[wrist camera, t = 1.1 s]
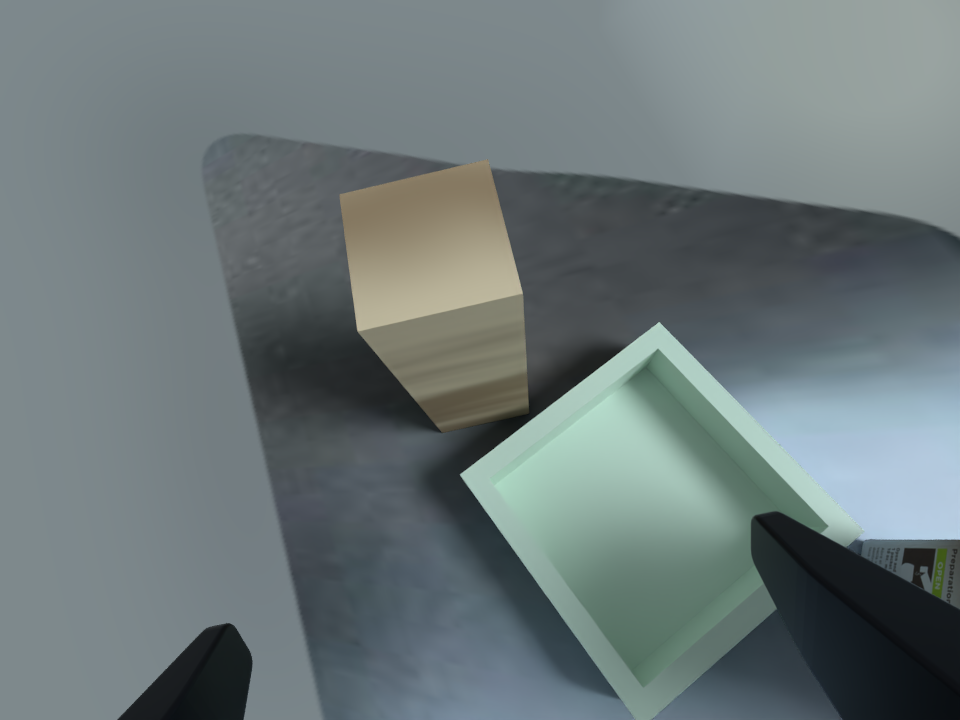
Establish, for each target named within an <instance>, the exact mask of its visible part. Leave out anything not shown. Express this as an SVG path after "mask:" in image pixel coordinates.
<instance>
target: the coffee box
mask: <svg viewBox="0 0 960 720" xmlns="http://www.w3.org/2000/svg"><path fill="white" fill-rule="evenodd" d="M861 556H863V557H865V558H867V559H868V560H870V561H872V562H874V563H876V564H878V565H879V566H881V567H883V568H885V569H887V570H889V571H891V572H892V573H894V574H896V575H898V576H900V577H902V578H904V579H905V580H907V581H909V582H911V583H913V584H915V585H916V586H918V587H920V588H922V589H924V590H926V591H928V592H929V593H931V594H933V595H935V596H937V597H939V598H941V599H942V600H944V601H946V602H948V603H950V604H952V605H953V606H955V607H957V608H959V609H960V540H875V539H869V540H865V541H864V542H863V545H862V552H861Z"/></svg>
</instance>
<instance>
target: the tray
mask: <svg viewBox="0 0 960 720" xmlns="http://www.w3.org/2000/svg"><path fill="white" fill-rule="evenodd" d="M460 476H461V477H462V479H463V480H464V481H465V483H466V484H467V485H468V487H469V488H470V490H471V491H472V492H473V494H474V495H475V497H476V498H477V499H478V501H479V502H480V504H481V505H482V506H483V508H484V509H485V511H486V512H487V513H488V515H489V516H490V518H491V519H492V520H493V522H494V523H495V525H496V526H497V527H498V529H499V530H500V532H501V533H502V534H503V536H504V537H505V538H506V540H507V541H508V543H509V544H510V545H511V547H512V548H513V550H514V551H515V552H516V554H517V555H518V557H519V558H520V559H521V561H522V562H523V564H524V565H525V566H526V568H527V569H528V571H529V572H530V573H531V575H532V576H533V578H534V579H535V580H536V582H537V583H538V585H539V586H540V587H541V589H542V590H543V591H544V593H545V594H546V596H547V597H548V598H549V600H550V601H551V603H552V604H553V605H554V607H555V608H556V610H557V611H558V612H559V614H560V615H561V617H562V618H563V619H564V621H565V622H566V624H567V625H568V626H569V628H570V629H571V631H572V632H573V633H574V635H575V636H576V638H577V639H578V640H579V642H580V643H581V644H582V646H583V647H584V649H585V650H586V651H587V653H588V654H589V656H590V657H591V658H592V660H593V661H594V663H595V664H596V665H597V667H598V668H599V670H600V671H601V672H602V674H603V675H604V677H605V678H606V679H607V681H608V682H609V684H610V685H611V686H612V688H613V689H614V691H615V692H616V693H617V695H618V696H619V697H620V699H621V700H622V702H623V703H624V704H625V706H626V707H627V709H628V710H629V711H630V713H631V714H632V716H633V717H634V718H635V720H651V719H653V718H654V717H655V716H656V715H657V714H658V713H659V712H661V711H662V710H663V709H664V708H665V707H666V706H667V705H668V704H670V703H671V702H672V701H673V700H674V699H675V698H676V697H678V696H679V695H680V694H681V693H682V692H683V691H684V690H685V689H687V688H688V687H689V686H690V685H691V684H692V683H693V682H695V681H696V680H697V679H698V678H699V677H700V676H701V675H702V674H704V673H705V672H706V671H707V670H708V669H709V668H710V667H712V666H713V665H714V664H715V663H716V662H717V661H718V660H719V659H721V658H722V657H723V656H724V655H725V654H726V653H727V652H729V651H730V650H731V649H732V648H733V647H734V646H735V645H736V644H738V643H739V642H740V641H741V640H742V639H743V638H744V637H746V636H747V635H748V634H749V633H750V632H751V631H752V630H753V629H755V628H756V627H757V626H758V625H759V624H760V623H761V622H763V621H764V620H765V619H766V618H767V617H768V616H769V615H770V614H772V613H773V612H774V611H775V610H776V609H777V608H776V606H775V604H774V602H773V600H772V598H771V596H770V594H769V592H768V590H767V588H766V586H765V585H764V583H763V581H762V579H761V577H760V575H759V573H758V571H757V569H756V567H755V565H754V562H753V559H752V556H751V519H752V517H753V516H754V515H757V514H762V513H767V512H772V511H778V512H781V513H783V514H785V515H787V516H789V517H791V518H793V519H794V520H796V521H798V522H800V523H802V524H804V525H805V526H807V527H809V528H811V529H813V530H815V531H817V532H818V533H820V534H822V535H824V536H826V537H828V538H830V539H831V540H833V541H835V542H837V543H839V544H841V545H842V546H844V547H848V546H849V545H850V544H851V543H852V542H853V541H854V540H855V539H857V538H858V537H859V536H860V535H861V534H862V533H863V532H865V531H864V530H863V529H862V528H861V527H860V526H859V525H858V524H857V523H856V522H855V521H854V520H853V519H852V518H851V517H850V516H849V515H848V514H847V513H846V512H845V511H844V510H843V509H842V508H841V507H840V506H839V505H838V504H837V503H836V502H835V501H834V500H833V499H832V498H831V497H830V496H829V495H828V494H827V493H826V492H825V491H824V490H823V489H822V488H821V487H820V486H819V485H818V484H817V482H816V481H815V480H814V479H813V478H812V477H811V476H810V475H809V474H808V473H807V472H806V471H805V470H804V469H803V468H802V467H801V466H800V465H799V464H798V463H797V462H796V461H795V460H794V459H793V458H792V457H791V456H790V455H789V454H788V453H787V452H786V451H785V450H784V449H783V448H782V447H781V446H780V445H779V444H778V443H777V442H776V441H775V440H774V439H773V438H772V437H771V436H770V435H769V434H768V433H767V432H766V431H765V429H764V428H763V427H762V426H761V425H760V424H759V423H758V422H757V421H756V420H755V419H754V418H753V417H752V416H751V415H750V414H749V413H748V412H747V411H746V410H745V409H744V408H743V407H742V406H741V405H740V404H739V403H738V402H737V401H736V400H735V399H734V398H733V397H732V396H731V395H730V394H729V393H728V392H727V391H726V390H725V389H724V388H723V387H722V386H721V385H720V384H719V383H718V382H717V381H716V380H715V379H714V378H713V376H712V375H711V374H710V373H709V372H708V371H707V370H706V369H705V368H704V367H703V366H702V365H701V364H700V363H699V362H698V361H697V360H696V359H695V358H694V357H693V356H692V355H691V354H690V353H689V352H688V351H687V350H686V349H685V348H684V347H683V346H682V345H681V344H680V343H679V342H678V341H677V340H676V339H675V338H674V337H673V336H672V335H671V334H670V333H669V332H668V331H667V330H666V329H665V328H664V327H663V326H662V325H661V323H660V322H659V323H658V324H656V325H655V326H654V327H652V328H651V329H650V330H648V331H647V332H646V333H645V334H643V335H642V336H641V337H639V338H638V339H637V340H635V341H634V342H633V343H631V344H630V345H629V346H628V347H626V348H625V349H624V350H622V351H621V352H620V353H618V354H617V355H616V356H614V357H613V358H612V359H611V360H609V361H608V362H607V363H605V364H604V365H603V366H601V367H600V368H599V369H597V370H596V371H595V372H594V373H592V374H591V375H590V376H588V377H587V378H586V379H584V380H583V381H582V382H580V383H579V384H578V385H577V386H575V387H574V388H573V389H571V390H570V391H569V392H567V393H566V394H565V395H563V396H562V397H561V398H560V399H558V400H557V401H556V402H554V403H553V404H552V405H550V406H549V407H548V408H546V409H545V410H544V411H543V412H541V413H540V414H539V415H537V416H536V417H535V418H533V419H532V420H531V421H529V422H528V423H527V424H526V425H524V426H523V427H522V428H520V429H519V430H518V431H516V432H515V433H514V434H512V435H511V436H510V437H509V438H507V439H506V440H505V441H503V442H502V443H501V444H499V445H498V446H497V447H495V448H494V449H493V450H492V451H490V452H489V453H488V454H486V455H485V456H484V457H482V458H481V459H480V460H478V461H477V462H476V463H475V464H473V465H472V466H471V467H469V468H468V469H467V470H465V471H464V472H463V473H461V474H460Z"/></svg>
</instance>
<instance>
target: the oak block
mask: <svg viewBox="0 0 960 720" xmlns="http://www.w3.org/2000/svg"><path fill="white" fill-rule="evenodd" d="M340 203H341V210H342V218H343V225H344V233H345V241H346V248H347V256H348V263H349V271H350V278H351V286H352V293H353V301H354V309H355V316H356V324H357V331H358V333H359V334H360V335H361V336H362V338H363V339H364V340H365V341H366V342H367V343H368V345H369V346H370V347H371V348H372V349H373V351H374V352H375V353H376V354H377V355H378V357H379V358H380V359H381V360H382V361H383V363H384V364H385V365H386V366H387V367H388V369H389V370H390V371H391V372H392V373H393V375H394V376H395V377H396V378H397V379H398V380H399V382H400V383H401V384H402V385H403V386H404V388H405V389H406V390H407V391H408V392H409V394H410V395H411V396H412V397H413V398H414V400H415V401H416V402H417V403H418V404H419V406H420V407H421V408H422V409H423V410H424V411H425V413H426V414H427V415H428V416H429V417H430V419H431V420H432V421H433V422H434V423H435V425H436V426H437V427H438V428H439V429H440V431H441V432H442V433H444V432H449V431H453V430H458V429H462V428H467V427H471V426H476V425H480V424H485V423H489V422H494V421H498V420H503V419H507V418H512V417H516V416H521V415H525V414H529V399H528V381H527V362H526V344H525V325H524V306H523V292H522V289H521V285H520V281H519V277H518V273H517V269H516V265H515V262H514V258H513V254H512V250H511V246H510V242H509V238H508V235H507V231H506V227H505V223H504V219H503V215H502V211H501V208H500V204H499V200H498V196H497V192H496V188H495V184H494V181H493V177H492V173H491V169H490V165H489V161H488V159H487V160H483V161H479V162H475V163H471V164H466V165H462V166H458V167H454V168H449V169H445V170H441V171H437V172H433V173H428V174H424V175H420V176H416V177H412V178H407V179H403V180H399V181H395V182H390V183H386V184H382V185H378V186H374V187H369V188H365V189H361V190H357V191H352V192H348V193H344V194H340Z"/></svg>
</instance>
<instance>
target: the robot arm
mask: <svg viewBox="0 0 960 720" xmlns="http://www.w3.org/2000/svg"><path fill="white" fill-rule="evenodd" d="M751 556H752V559H753V562H754V565H755V567H756V569H757V571H758V573H759V575H760V577H761V579H762V581H763V583H764V585H765V586H766V588H767V590H768V592H769V594H770V596H771V598H772V600H773V602H774V604H775V606H776V608H777V610H778V612H779V614H780V616H781V618H782V620H783V621H784V623H785V625H786V627H787V629H788V631H789V633H790V635H791V637H792V639H793V641H794V643H795V645H796V646H797V648H798V650H799V652H800V654H801V656H802V657H803V659H804V661H805V662H806V664H807V666H808V667H809V669H810V670H811V672H812V674H813V675H814V677H815V678H816V680H817V681H818V683H819V684H820V686H821V687H822V689H823V691H824V692H825V694H826V695H827V697H828V698H829V700H830V701H831V703H832V705H833V706H834V708H835V709H836V711H837V712H838V714H839V715H840V717H841V718H842V720H960V609H959V608H957V607H955V606H953V605H952V604H950V603H948V602H946V601H944V600H942V599H941V598H939V597H937V596H935V595H933V594H931V593H929V592H928V591H926V590H924V589H922V588H920V587H918V586H916V585H915V584H913V583H911V582H909V581H907V580H905V579H904V578H902V577H900V576H898V575H896V574H894V573H892V572H891V571H889V570H887V569H885V568H883V567H881V566H879V565H878V564H876V563H874V562H872V561H870V560H868V559H867V558H865V557H863V556H861V555H859V554H857V553H855V552H854V551H852V550H850V549H848V548H846V547H844V546H842V545H841V544H839V543H837V542H835V541H833V540H831V539H830V538H828V537H826V536H824V535H822V534H820V533H818V532H817V531H815V530H813V529H811V528H809V527H807V526H805V525H804V524H802V523H800V522H798V521H796V520H794V519H793V518H791V517H789V516H787V515H785V514H783V513H781V512H778V511H772V512H767V513H762V514H757V515H754V516H753V517H752V519H751ZM251 672H252V656H251V653H250V651H249V649H248V647H247V646H246V644H245V642H244V641H243V639H242V638H241V636H240V634H239V632H238V631H237V629H236V628H235V626H234V625H232V624H230V623H226V624H221V625H217V626H212V627H209V628H206V629H205V630H204V631H203V632H202V633H201V634H200V635H199V636H198V637H197V638H196V639H195V640H194V641H193V642H192V643H191V644H190V645H189V646H188V647H187V648H186V649H185V650H184V651H183V652H182V653H181V654H180V655H179V656H178V657H177V658H176V660H175V661H174V662H173V663H172V664H171V665H170V666H169V667H168V668H167V669H166V670H165V671H164V672H163V673H162V674H161V675H160V676H159V677H158V678H157V679H156V680H155V682H153V683H152V685H151V686H149V687H148V689H147V690H146V691H145V692H144V693H143V694H142V695H141V696H140V697H139V698H138V699H137V700H136V701H135V702H134V703H133V704H132V705H131V706H130V707H129V708H128V709H127V710H126V712H125V713H123V714H122V715H121V717H120V718H119V719H118V720H243V719H244V714H245V708H246V702H247V695H248V690H249V684H250V678H251Z"/></svg>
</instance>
